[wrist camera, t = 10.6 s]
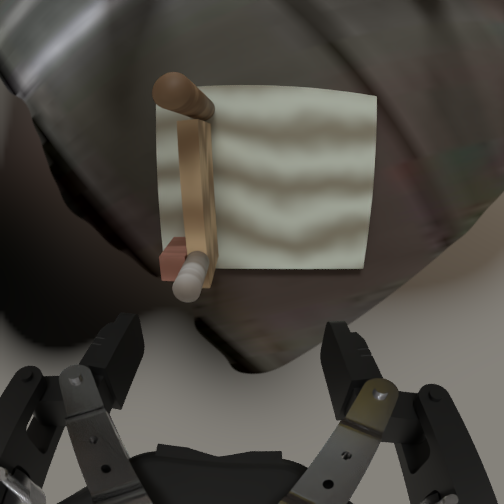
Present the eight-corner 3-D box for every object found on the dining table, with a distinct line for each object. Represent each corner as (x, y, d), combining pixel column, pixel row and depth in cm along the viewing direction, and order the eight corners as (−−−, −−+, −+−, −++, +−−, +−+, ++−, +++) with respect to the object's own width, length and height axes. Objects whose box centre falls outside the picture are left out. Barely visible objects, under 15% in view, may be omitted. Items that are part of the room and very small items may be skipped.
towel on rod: (158, 91, 33) (102, 66, 18) (373, 97, 33) (441, 80, 18) (166, 264, 42) (127, 330, 27) (360, 265, 42) (407, 328, 27)
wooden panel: (192, 125, 33) (154, 117, 19) (212, 123, 33) (186, 113, 19) (202, 256, 40) (177, 319, 26) (220, 255, 40) (204, 319, 26)
